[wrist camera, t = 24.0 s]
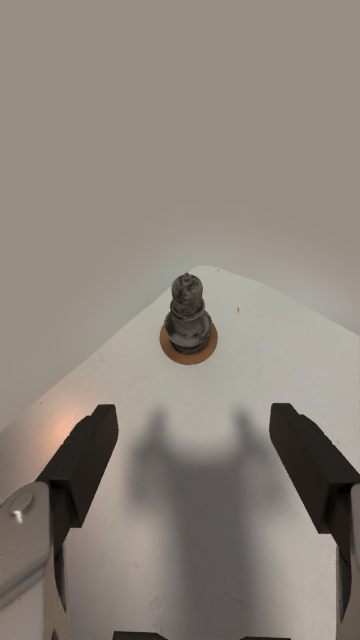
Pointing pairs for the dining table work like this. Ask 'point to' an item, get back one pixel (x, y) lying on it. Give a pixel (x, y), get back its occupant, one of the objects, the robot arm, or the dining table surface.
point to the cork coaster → (189, 358)
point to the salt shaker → (187, 316)
